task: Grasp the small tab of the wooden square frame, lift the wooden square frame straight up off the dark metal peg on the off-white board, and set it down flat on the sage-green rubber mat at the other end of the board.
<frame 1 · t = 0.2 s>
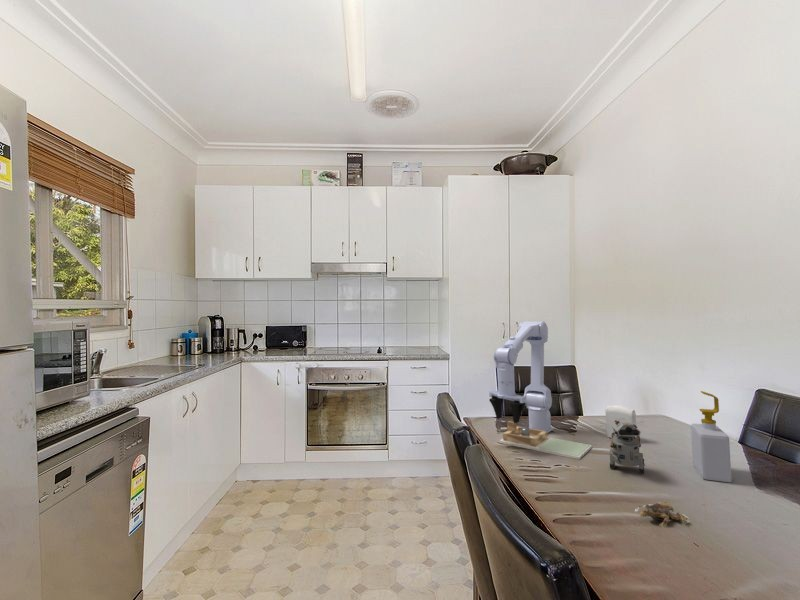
hand: (507, 420, 140), 10 cm above the table, tool pointing down, fingers open, 7 cm apart
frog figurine: (663, 520, 91), on the table
soap bottle: (711, 474, 115), on the table
peg: (525, 433, 147), on the board, point 3 cm above the table
board: (544, 445, 142), on the table
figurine: (627, 472, 117), on the table
wooden square frame: (524, 431, 147), on the board, point 4 cm above the table
photo printer: (621, 439, 147), on the table
mat: (564, 446, 138), resting on board
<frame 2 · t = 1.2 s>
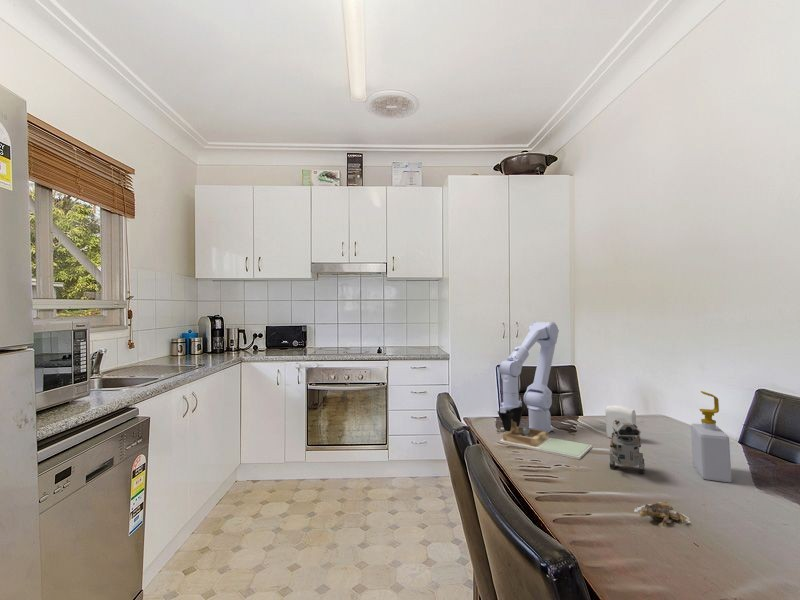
hand: (511, 428, 151), 4 cm above the table, tool pointing down, fingers open, 7 cm apart
nothing on the table moved.
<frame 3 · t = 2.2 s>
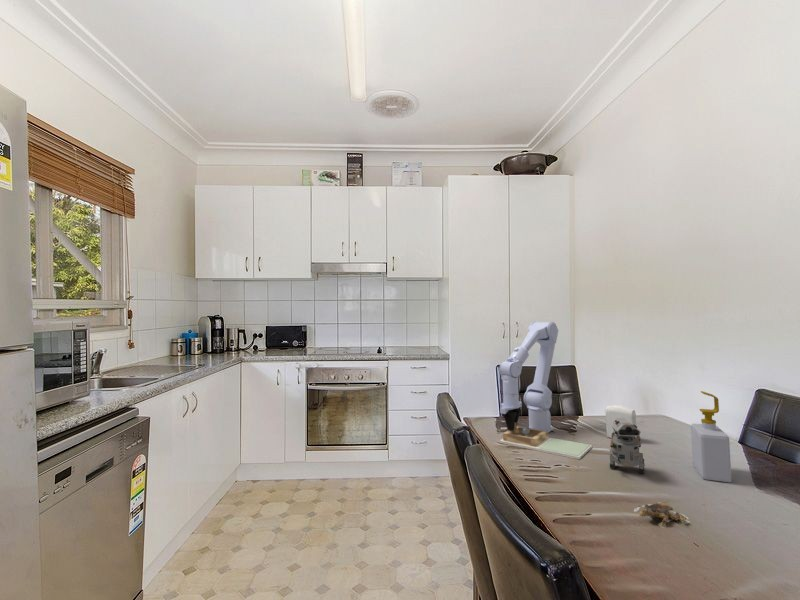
hand: (511, 429, 151), 4 cm above the table, tool pointing down, fingers closed on wooden square frame
wooden square frame: (524, 431, 147), on the board, point 4 cm above the table, touching gripper
everything else where it was.
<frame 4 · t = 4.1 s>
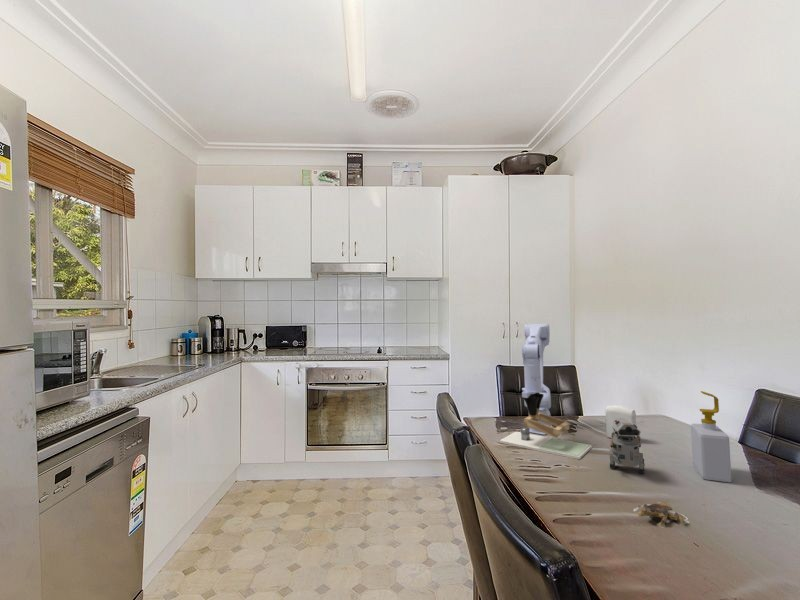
hand: (533, 414, 145), 10 cm above the table, tool pointing down, fingers closed on wooden square frame
wooden square frame: (546, 419, 142), point 9 cm above the table, tilted 11°, touching gripper
everything else where it was.
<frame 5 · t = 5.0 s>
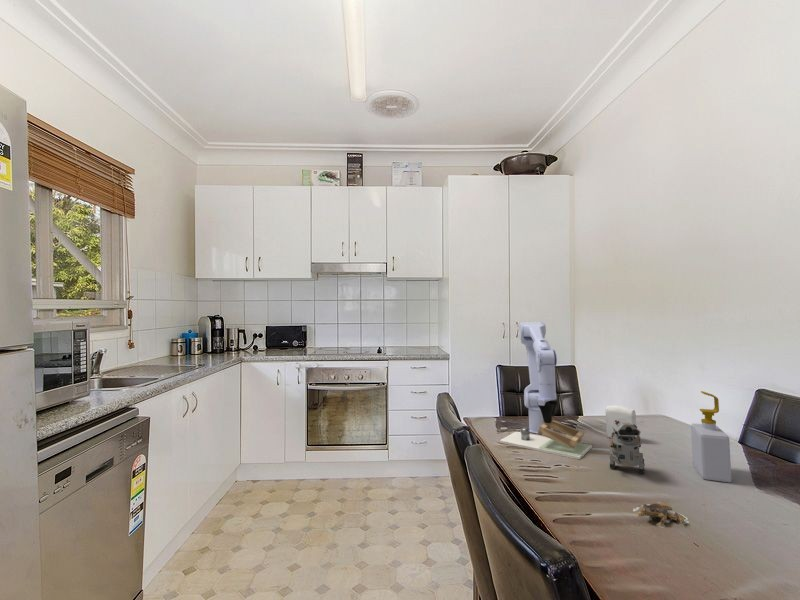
hand: (548, 422, 142), 8 cm above the table, tool pointing down, fingers closed on wooden square frame
wooden square frame: (561, 428, 139), point 7 cm above the table, tilted 15°, touching gripper
everything else where it was.
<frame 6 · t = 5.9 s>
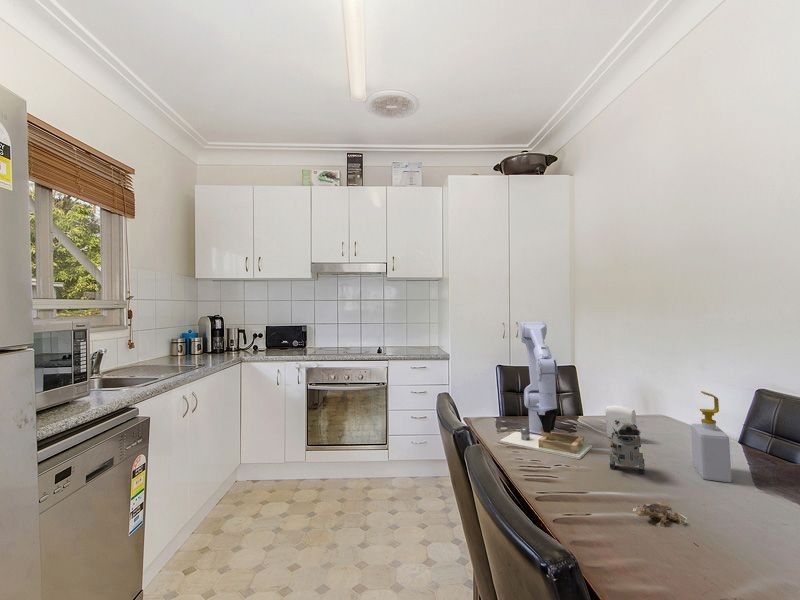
hand: (548, 431, 141), 5 cm above the table, tool pointing down, fingers open, 3 cm apart
wooden square frame: (560, 437, 139), point 4 cm above the table, touching mat
everything else where it was.
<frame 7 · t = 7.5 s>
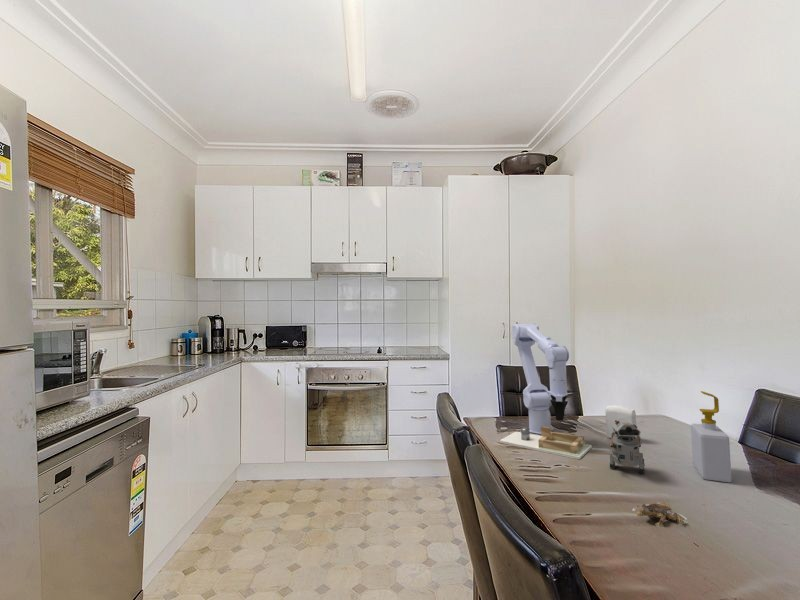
hand: (559, 417, 144), 9 cm above the table, tool pointing down, fingers open, 7 cm apart
nothing on the table moved.
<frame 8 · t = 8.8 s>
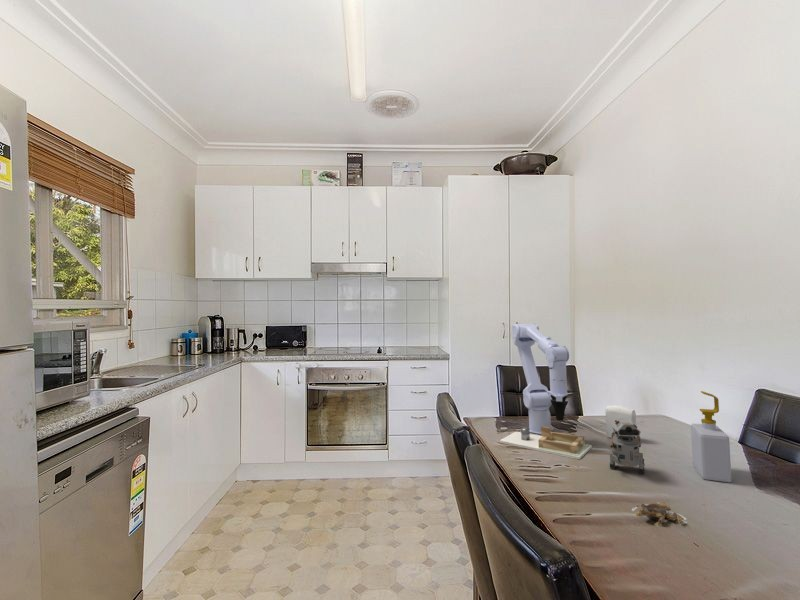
hand: (559, 417, 144), 9 cm above the table, tool pointing down, fingers open, 7 cm apart
nothing on the table moved.
at the end: wooden square frame 1.0 cm off-centre on the mat, point 2.9 cm above the mat's base; wooden square frame tilted 0°; wooden square frame touching mat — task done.
